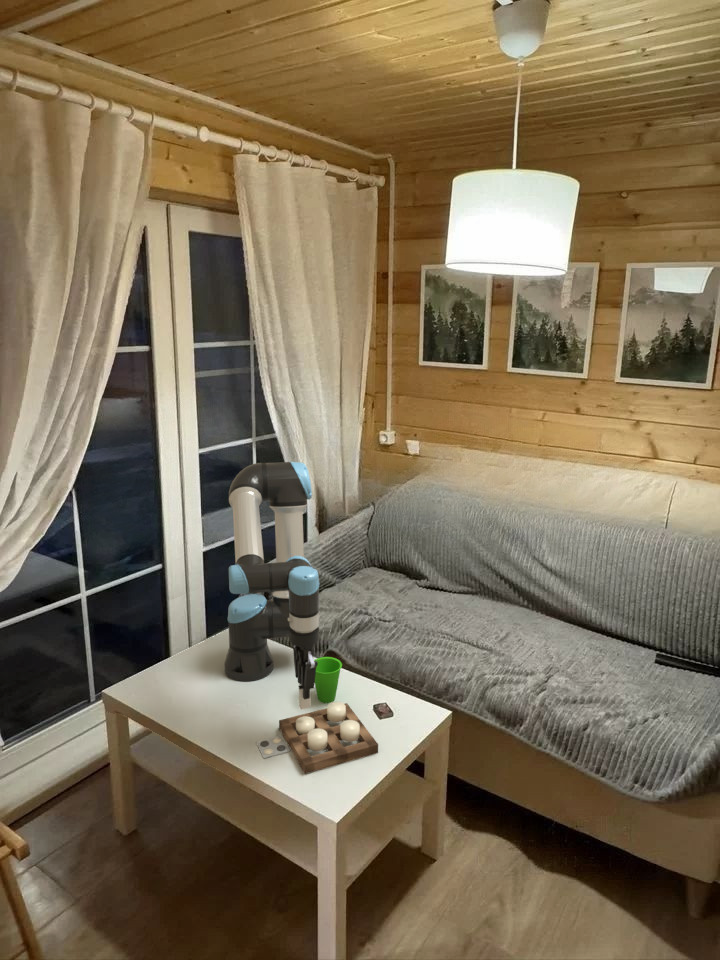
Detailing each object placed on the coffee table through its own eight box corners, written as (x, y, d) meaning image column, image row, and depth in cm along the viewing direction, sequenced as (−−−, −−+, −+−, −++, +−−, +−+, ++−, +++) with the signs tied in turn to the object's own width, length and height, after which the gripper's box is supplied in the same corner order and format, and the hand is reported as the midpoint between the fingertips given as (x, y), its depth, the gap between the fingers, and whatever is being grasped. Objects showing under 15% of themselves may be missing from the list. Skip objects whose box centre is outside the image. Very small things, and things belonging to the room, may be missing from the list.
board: (279, 728, 185) (279, 720, 184) (346, 710, 193) (346, 703, 192) (304, 774, 167) (304, 765, 166) (378, 752, 175) (378, 744, 175)
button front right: (304, 741, 175) (304, 731, 174) (323, 736, 177) (323, 726, 176) (311, 753, 170) (311, 742, 169) (330, 747, 172) (330, 737, 171)
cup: (337, 709, 193) (338, 674, 191) (307, 705, 195) (306, 671, 192) (345, 692, 202) (345, 658, 199) (315, 688, 204) (315, 655, 201)
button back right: (293, 728, 183) (293, 719, 182) (310, 724, 185) (310, 714, 184) (299, 739, 179) (299, 729, 178) (317, 734, 181) (317, 724, 180)
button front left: (337, 732, 178) (337, 722, 177) (354, 728, 180) (354, 718, 179) (344, 743, 174) (344, 733, 173) (362, 738, 176) (362, 728, 175)
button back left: (324, 714, 186) (324, 704, 185) (341, 709, 188) (341, 700, 187) (331, 724, 182) (331, 714, 181) (348, 719, 184) (348, 709, 183)
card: (255, 742, 179) (255, 741, 178) (281, 736, 181) (281, 734, 181) (263, 759, 172) (263, 757, 172) (290, 751, 175) (290, 750, 175)
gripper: (281, 618, 178) (283, 696, 185) (298, 641, 167) (299, 724, 173) (308, 612, 181) (309, 690, 188) (327, 635, 170) (327, 717, 176)
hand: (304, 706), depth 180 cm, fingers closed
